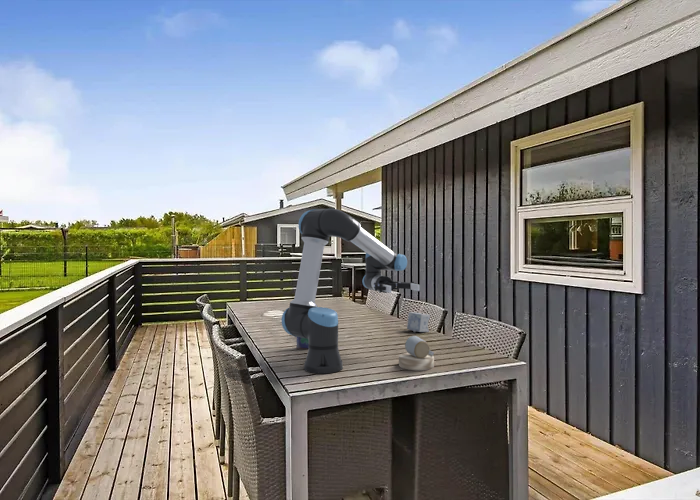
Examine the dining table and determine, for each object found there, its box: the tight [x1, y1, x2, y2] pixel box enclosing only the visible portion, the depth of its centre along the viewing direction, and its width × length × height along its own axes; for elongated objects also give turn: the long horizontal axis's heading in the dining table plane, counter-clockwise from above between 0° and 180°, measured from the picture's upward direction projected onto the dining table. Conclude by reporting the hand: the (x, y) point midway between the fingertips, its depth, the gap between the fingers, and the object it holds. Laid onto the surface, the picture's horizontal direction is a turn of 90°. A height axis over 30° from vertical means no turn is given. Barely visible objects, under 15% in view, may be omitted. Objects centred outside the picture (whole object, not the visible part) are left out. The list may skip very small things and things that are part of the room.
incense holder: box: [406, 311, 431, 333], centre depth 257 cm, size 10×8×10 cm
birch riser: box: [398, 352, 435, 371], centre depth 189 cm, size 14×14×4 cm
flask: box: [296, 337, 309, 350], centre depth 219 cm, size 9×3×11 cm, turn 80°
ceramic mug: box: [404, 335, 435, 358], centre depth 189 cm, size 11×8×8 cm
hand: (404, 288), depth 197 cm, fingers open, 13 cm apart
